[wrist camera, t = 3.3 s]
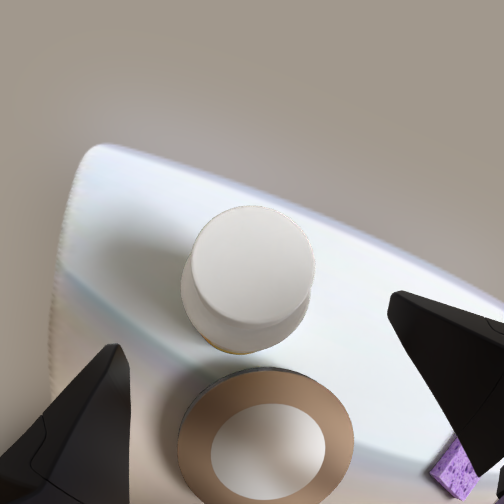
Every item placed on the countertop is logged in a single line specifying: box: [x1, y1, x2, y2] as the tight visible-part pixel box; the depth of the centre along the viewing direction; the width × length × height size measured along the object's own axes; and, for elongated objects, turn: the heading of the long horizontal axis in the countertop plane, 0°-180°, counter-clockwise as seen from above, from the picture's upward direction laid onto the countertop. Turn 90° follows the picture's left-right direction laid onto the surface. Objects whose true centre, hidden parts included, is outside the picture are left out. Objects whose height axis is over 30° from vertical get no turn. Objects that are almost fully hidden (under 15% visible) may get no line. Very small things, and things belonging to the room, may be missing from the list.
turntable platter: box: [177, 371, 354, 504], centre depth 14 cm, size 10×10×2 cm
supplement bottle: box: [181, 206, 315, 355], centre depth 13 cm, size 5×5×10 cm
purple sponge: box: [430, 438, 480, 501], centre depth 14 cm, size 7×13×2 cm, turn 130°
